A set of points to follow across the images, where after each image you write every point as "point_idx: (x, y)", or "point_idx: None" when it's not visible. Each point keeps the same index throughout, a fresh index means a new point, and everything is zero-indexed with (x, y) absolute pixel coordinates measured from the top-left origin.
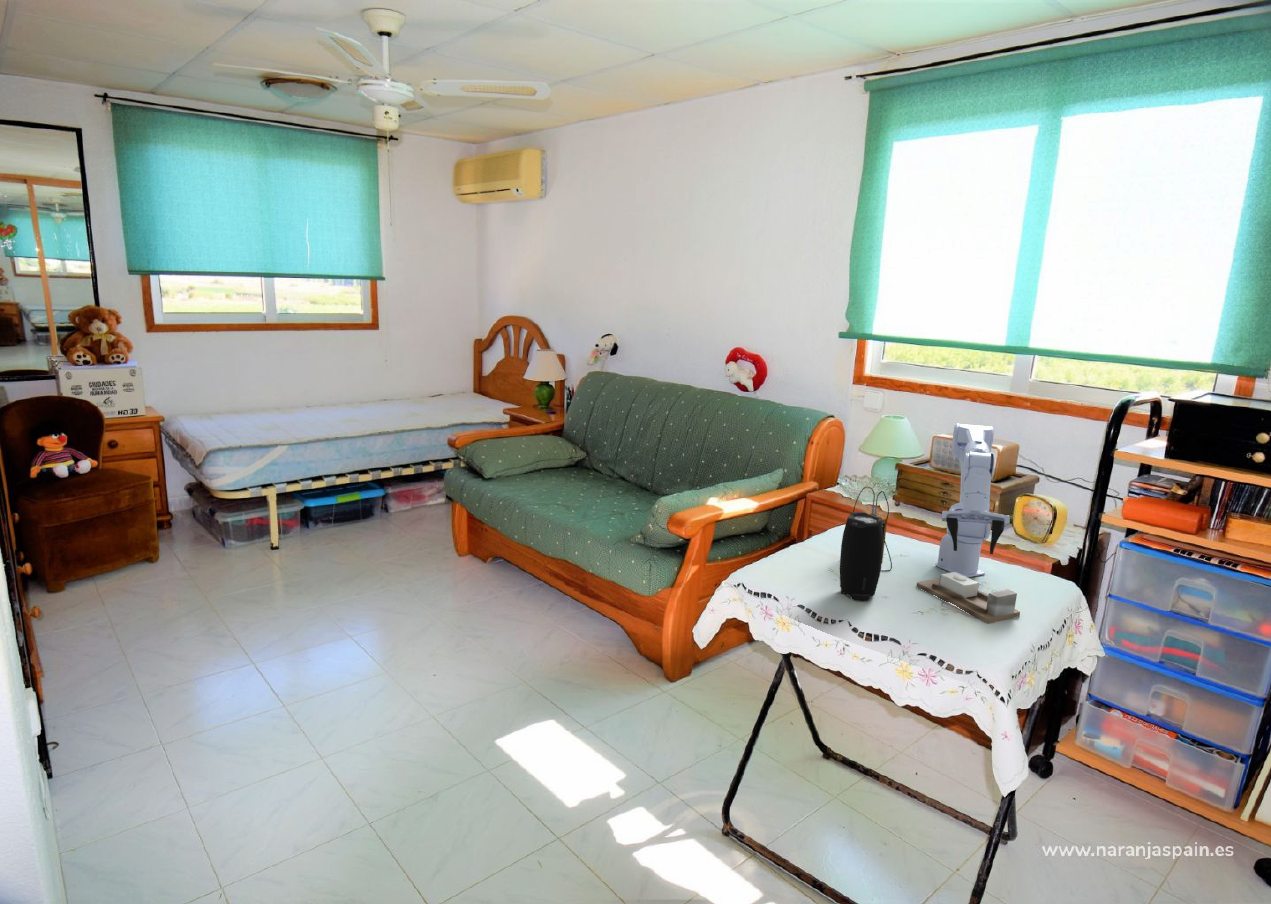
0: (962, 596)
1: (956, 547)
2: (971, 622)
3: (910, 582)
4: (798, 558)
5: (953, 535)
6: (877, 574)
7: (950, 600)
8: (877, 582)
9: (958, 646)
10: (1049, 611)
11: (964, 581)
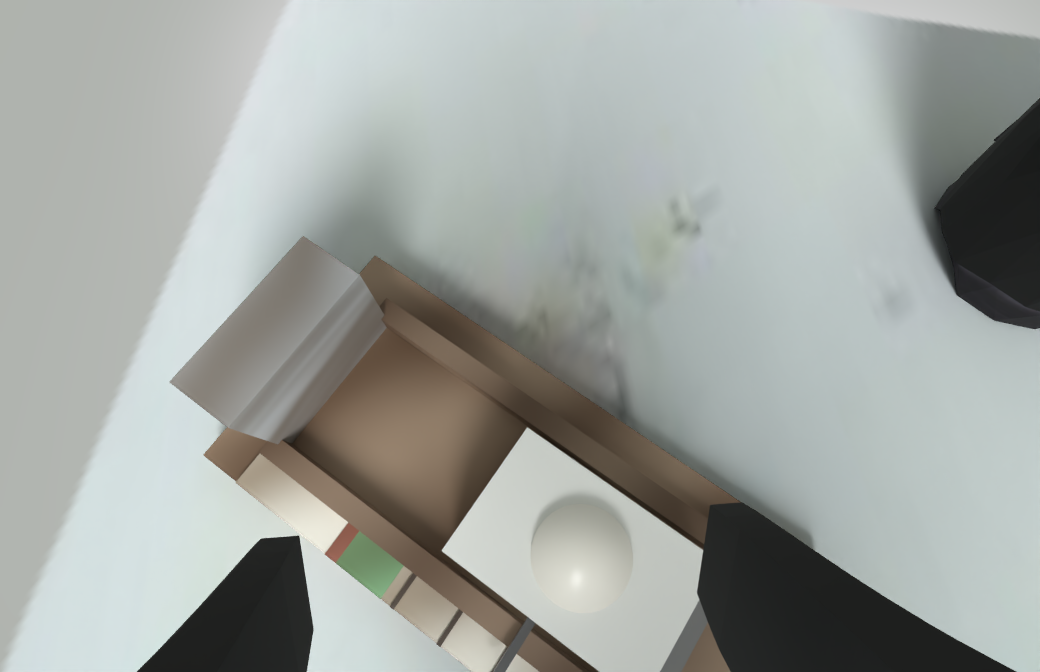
0: (527, 419)
1: (714, 504)
2: (452, 244)
3: None
4: None
5: (872, 603)
6: (1038, 124)
7: (585, 399)
8: (991, 185)
9: (476, 8)
10: (24, 665)
11: (539, 513)
